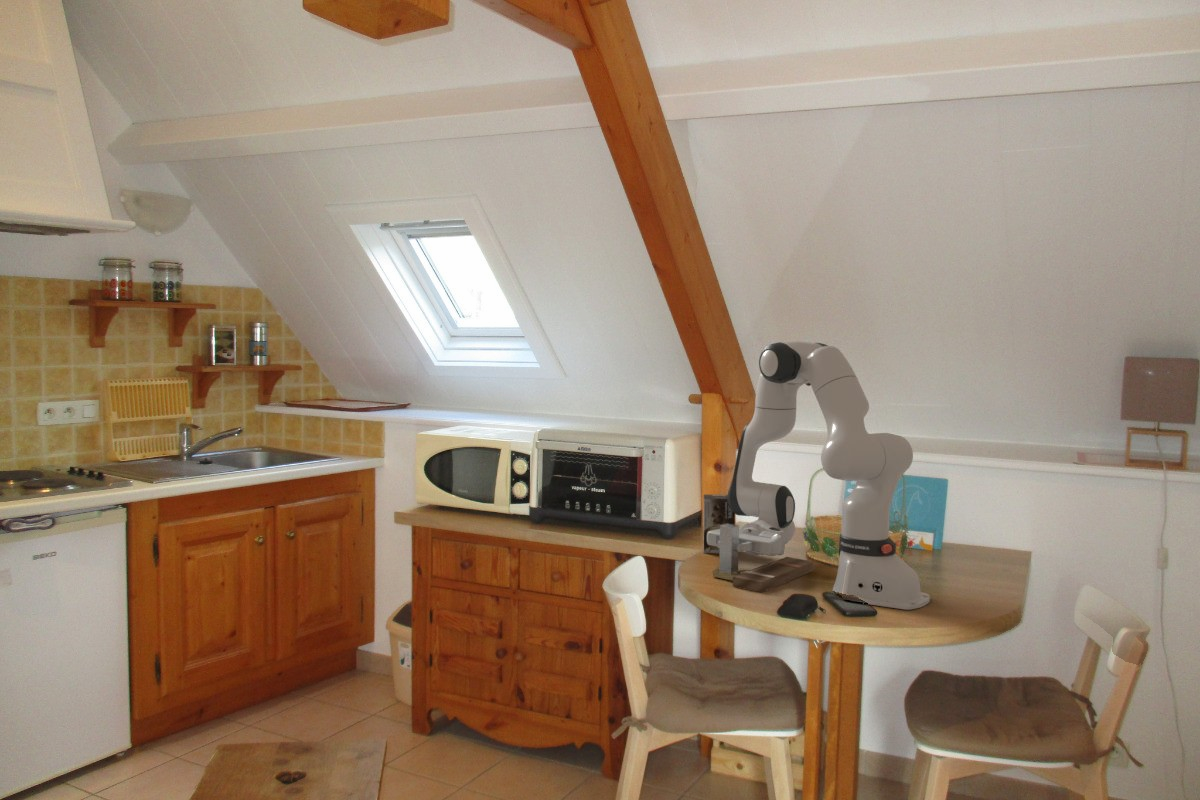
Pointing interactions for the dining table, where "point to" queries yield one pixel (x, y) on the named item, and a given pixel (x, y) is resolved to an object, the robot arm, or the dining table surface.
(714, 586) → the dining table surface
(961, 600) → the dining table surface
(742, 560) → the dining table surface
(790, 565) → the walnut board
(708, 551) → the coffee box
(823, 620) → the dining table surface
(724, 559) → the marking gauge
